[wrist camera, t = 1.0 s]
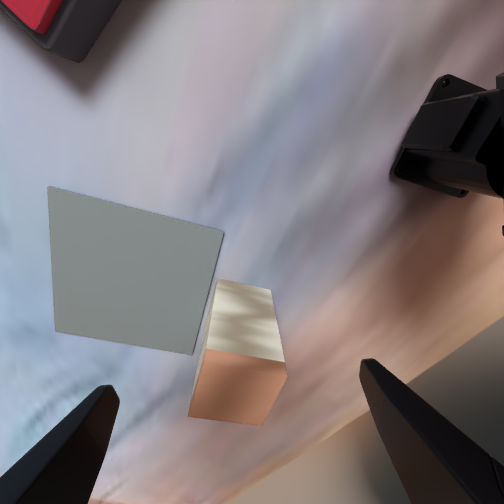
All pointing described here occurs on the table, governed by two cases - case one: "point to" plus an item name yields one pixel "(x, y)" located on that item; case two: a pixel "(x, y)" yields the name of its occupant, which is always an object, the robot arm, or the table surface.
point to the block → (239, 357)
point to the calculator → (62, 23)
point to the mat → (128, 272)
